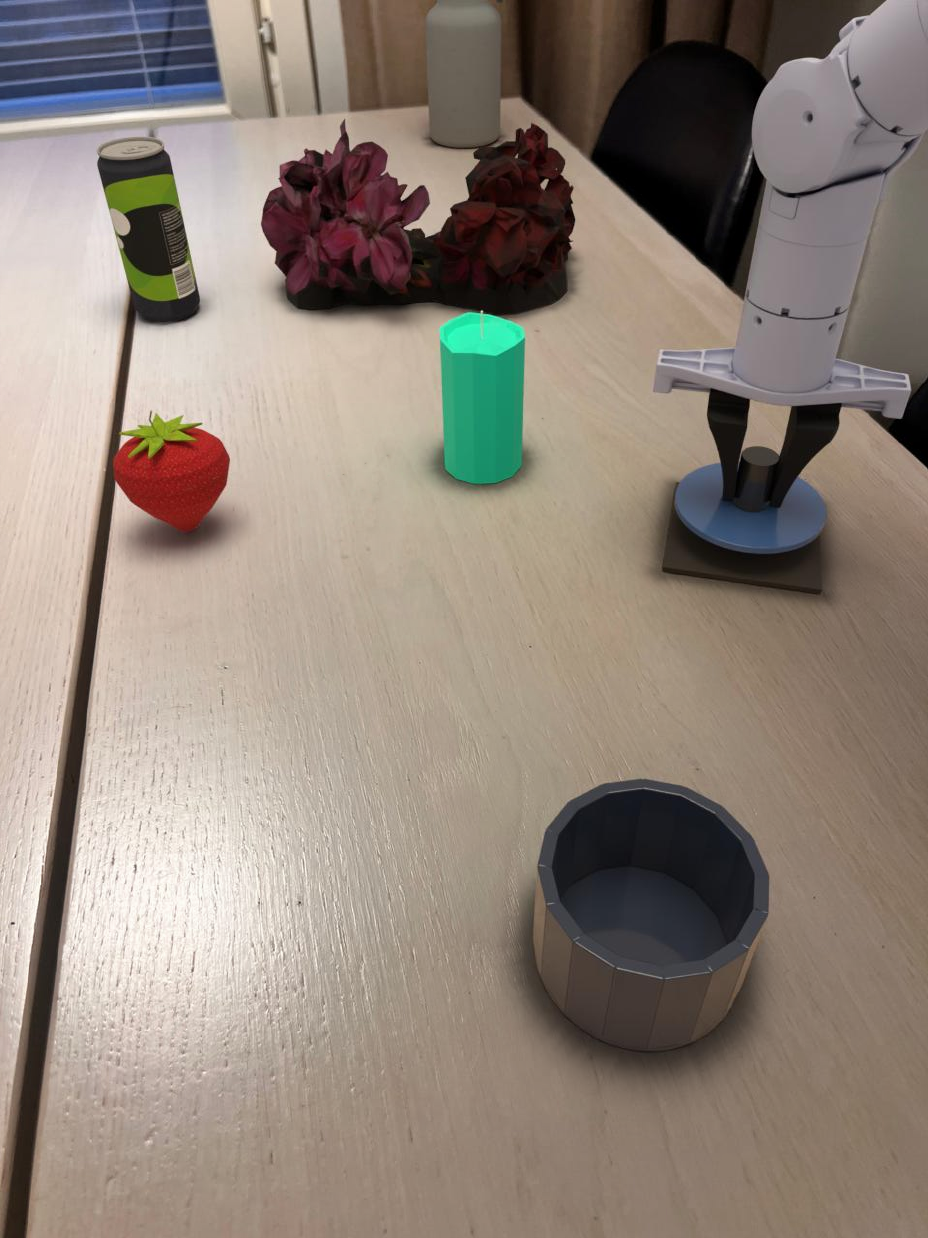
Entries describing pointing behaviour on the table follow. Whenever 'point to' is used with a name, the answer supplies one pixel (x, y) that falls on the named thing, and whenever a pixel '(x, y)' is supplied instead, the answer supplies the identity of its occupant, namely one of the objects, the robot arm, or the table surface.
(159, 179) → the beverage can
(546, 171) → the flower arrangement
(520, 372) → the candle
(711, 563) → the mat
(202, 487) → the strawberry
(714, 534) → the lid
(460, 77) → the water bottle
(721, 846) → the pot
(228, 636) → the table surface
